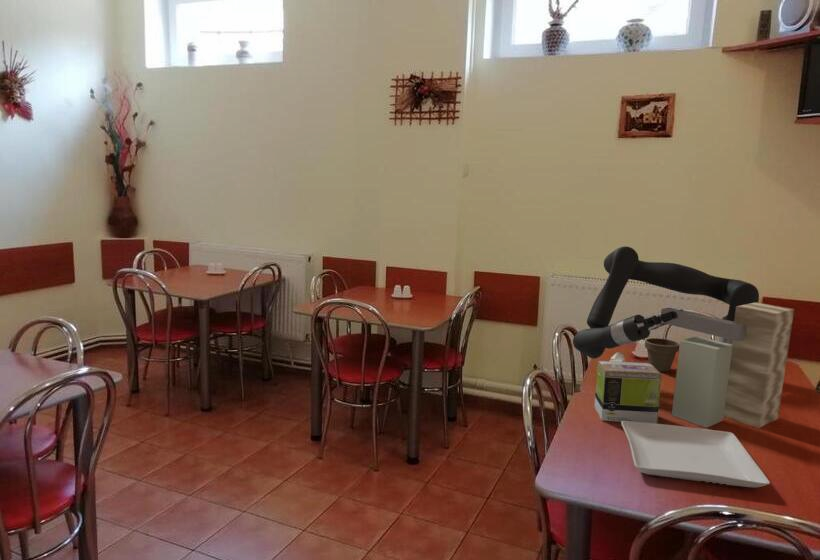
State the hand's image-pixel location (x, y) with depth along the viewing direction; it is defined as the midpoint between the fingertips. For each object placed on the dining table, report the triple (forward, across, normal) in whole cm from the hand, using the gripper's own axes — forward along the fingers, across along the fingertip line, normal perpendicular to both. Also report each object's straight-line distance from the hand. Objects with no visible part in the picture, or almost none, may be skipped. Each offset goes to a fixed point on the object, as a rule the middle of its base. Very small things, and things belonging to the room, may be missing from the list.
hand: (679, 313), depth 168 cm
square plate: (+4, -28, +36) cm, 45 cm away
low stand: (-6, 0, +29) cm, 30 cm away
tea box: (-17, -17, +23) cm, 34 cm away
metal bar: (+4, 0, +6) cm, 7 cm away
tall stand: (0, +14, +33) cm, 36 cm away
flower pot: (-34, +33, +14) cm, 49 cm away
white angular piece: (-27, -3, +18) cm, 32 cm away
